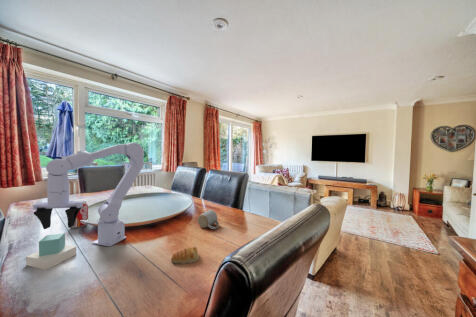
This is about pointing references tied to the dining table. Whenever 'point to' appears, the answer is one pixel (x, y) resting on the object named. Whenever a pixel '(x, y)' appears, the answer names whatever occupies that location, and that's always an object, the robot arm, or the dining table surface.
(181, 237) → the dining table surface
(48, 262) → the stone plinth
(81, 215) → the soda can
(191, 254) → the pastry
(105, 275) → the dining table surface
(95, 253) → the dining table surface
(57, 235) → the teal block
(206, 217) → the ceramic mug
